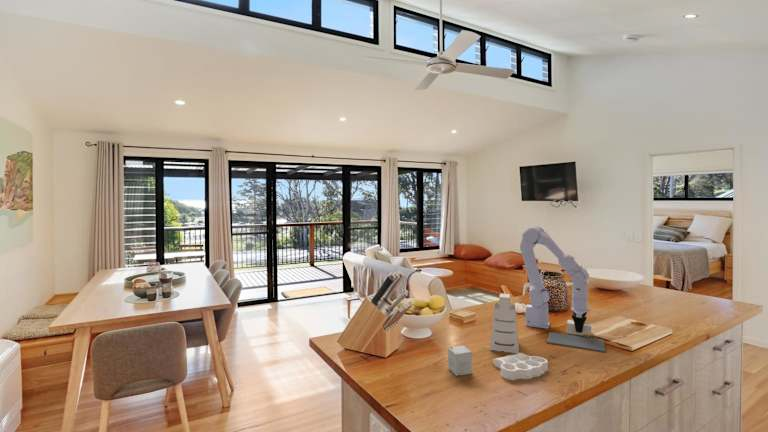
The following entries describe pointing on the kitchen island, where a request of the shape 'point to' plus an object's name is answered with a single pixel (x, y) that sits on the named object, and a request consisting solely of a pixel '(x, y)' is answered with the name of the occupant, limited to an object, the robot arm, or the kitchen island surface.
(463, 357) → the skincare box
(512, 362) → the white scalloped muffin tray
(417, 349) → the kitchen island surface
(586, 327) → the block
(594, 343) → the mat
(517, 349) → the grater
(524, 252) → the robot arm
